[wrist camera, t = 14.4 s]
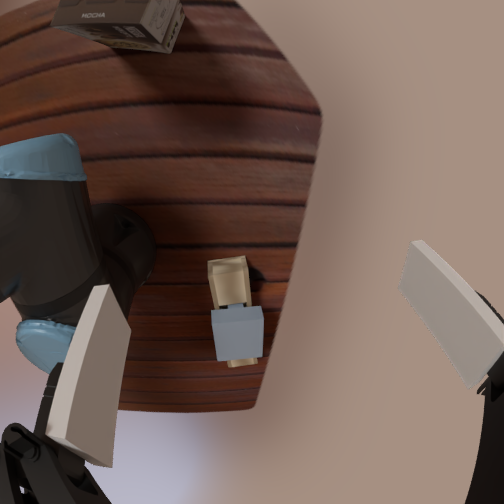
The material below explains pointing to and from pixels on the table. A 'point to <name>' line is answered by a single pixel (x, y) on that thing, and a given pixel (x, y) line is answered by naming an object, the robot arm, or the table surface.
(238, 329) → the grey plastic block
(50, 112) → the table surface
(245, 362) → the rail
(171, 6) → the coffee box
